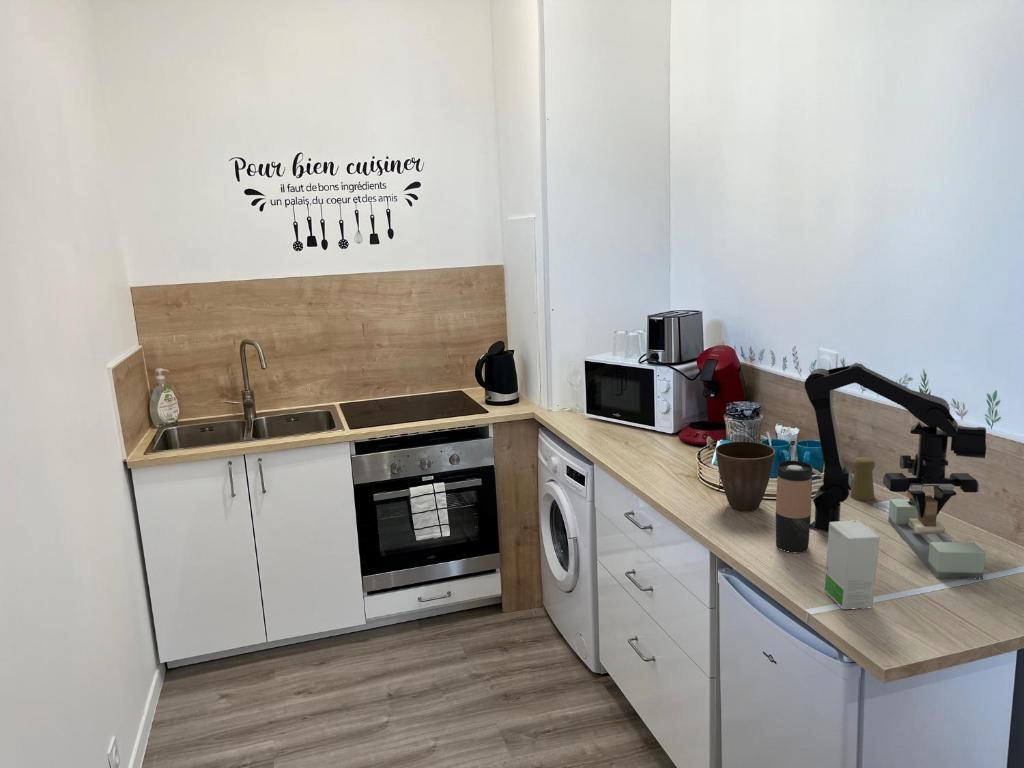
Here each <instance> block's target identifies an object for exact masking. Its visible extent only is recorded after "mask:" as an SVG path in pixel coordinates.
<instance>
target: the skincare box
mask: <svg viewBox="0 0 1024 768" xmlns="http://www.w3.org/2000/svg"><path fill="white" fill-rule="evenodd" d="M880 540H881V539H880V536H879V535H877V534H876V533H875V532H873V530H871V527H869V526H866V525H865V524H863V523H862V522H861V521H860V520H859V519H852V520H842V521H841V520H840V521H838V522H829V532H828V537H827V549H826V559H825V560H826V561H825V571H824V572H825V573H824V585H823V591H824V593H825V594H827V596H830V597H831V598H832V599H833V600H834V601H836V602H837V603H838V604H839V605H840V606H841V607H842V608H843V609H852V608H867V609H869V608H868V607H873V608H874V596H875V586H876V578H877V568H878V567H877V566H878V559H879V547H880ZM830 597H829V598H830ZM831 598H830V599H831ZM834 601H833V602H834Z"/></svg>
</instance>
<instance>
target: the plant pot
mask: <svg viewBox="0 0 1024 768" xmlns="http://www.w3.org/2000/svg"><path fill="white" fill-rule="evenodd" d="M775 450H776V449H774V448H773V447H771V446H770V445H768V444H764V443H759V442H755V441H730V442H724V443H721V444H719V445H717V446H716V447H715V456H716V463H717V469H718V473H719V477H720V481H721V485H722V488H723V491H724V494H725V496H726V499H727V503H728V505H729V507H730V509H732V510H734V511H738V512H743V513H744V512H746V513H747V512H755V511H757V510H758V509H759V507H760V505H761V504H762V501H763V498H764V496H765V494H766V491H767V488H768V484H769V481H770V479H771V478H770V477H771V475H772V474H771V473H772V469H773V465H774V460H775V453H776V451H775Z"/></svg>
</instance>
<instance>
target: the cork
mask: <svg viewBox="0 0 1024 768" xmlns="http://www.w3.org/2000/svg"><path fill="white" fill-rule="evenodd" d="M875 464H876V463H875V461H874V459H872V458H871V457H867V456H859V457H856V458H855V459H854V460H853V468H854V469H855V470H854V475H853V479H854V484H853V487H852V490H850V493H849V496H850V498H851V499H854V500H856V501H861V502H871V501H874V500H875V499H876V498H875V488H874V479H873V476H874V475H873V470H875V467H876V465H875Z"/></svg>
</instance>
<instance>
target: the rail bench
mask: <svg viewBox="0 0 1024 768" xmlns="http://www.w3.org/2000/svg"><path fill="white" fill-rule="evenodd" d="M909 499H910V498H908V499H906V498H904V499H903V498H902V499H901V498H897V499H896V498H895V499H894V498H890V499H889V507H888V508H889V509H888V521H887V522H888V523H889V525H890V526H891V527H892V528H893V529H894V530H895V532H896V533H897V534H898V535H899V536H900V537H901V539H902V540H903V541H904V542H905V543H906V544H907V545H908V547H909V548H910V549H911V550H912V551H913V552H914V553H915V555H916V556H917V557H918V558H919V559H920V561H921V562H922V563H923V564H924V566H925V567H926V568H927V569H928V570H929V571H930V572H931V573H932V575H933V576H935V578H936V579H946V580H947V579H951V580H954V578H955V579H956V578H973V579H972V580H984V572H985V563H986V551H984V550H983V549H982V547H980V546H979V545H978V544H977V543H976V542H965V541H964V542H960V541H959V542H957V541H956V542H953V540H952V539H950V538H949V537H948V535H946V534H945V533H944V534H937V533H916V532H915V531H914V530H913V529H912V528H911V527H910V525H909V519H918V511H917V508H916V505H910V504H909ZM974 578H976V579H974ZM979 578H980V579H979ZM956 580H957V579H956Z"/></svg>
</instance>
